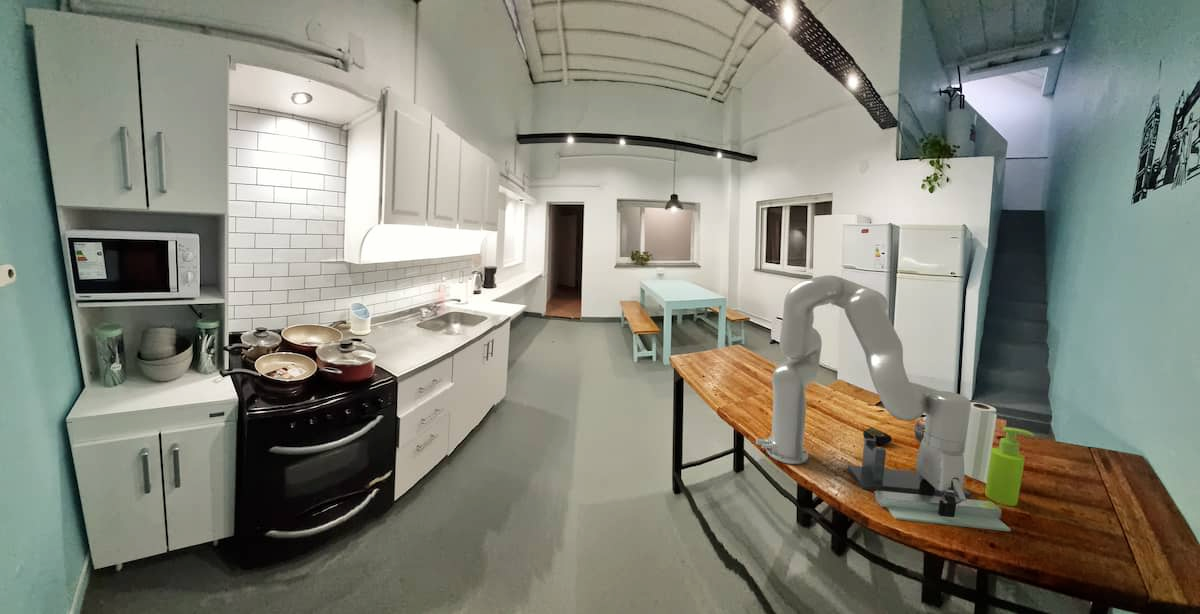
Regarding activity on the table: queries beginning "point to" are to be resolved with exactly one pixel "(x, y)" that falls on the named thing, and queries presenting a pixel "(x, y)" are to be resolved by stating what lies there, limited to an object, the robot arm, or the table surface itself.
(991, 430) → the paper towel roll
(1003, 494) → the soap dispenser
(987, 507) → the rail
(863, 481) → the rack
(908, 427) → the table surface
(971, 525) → the mat
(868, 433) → the tape measure
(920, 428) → the cupcake
